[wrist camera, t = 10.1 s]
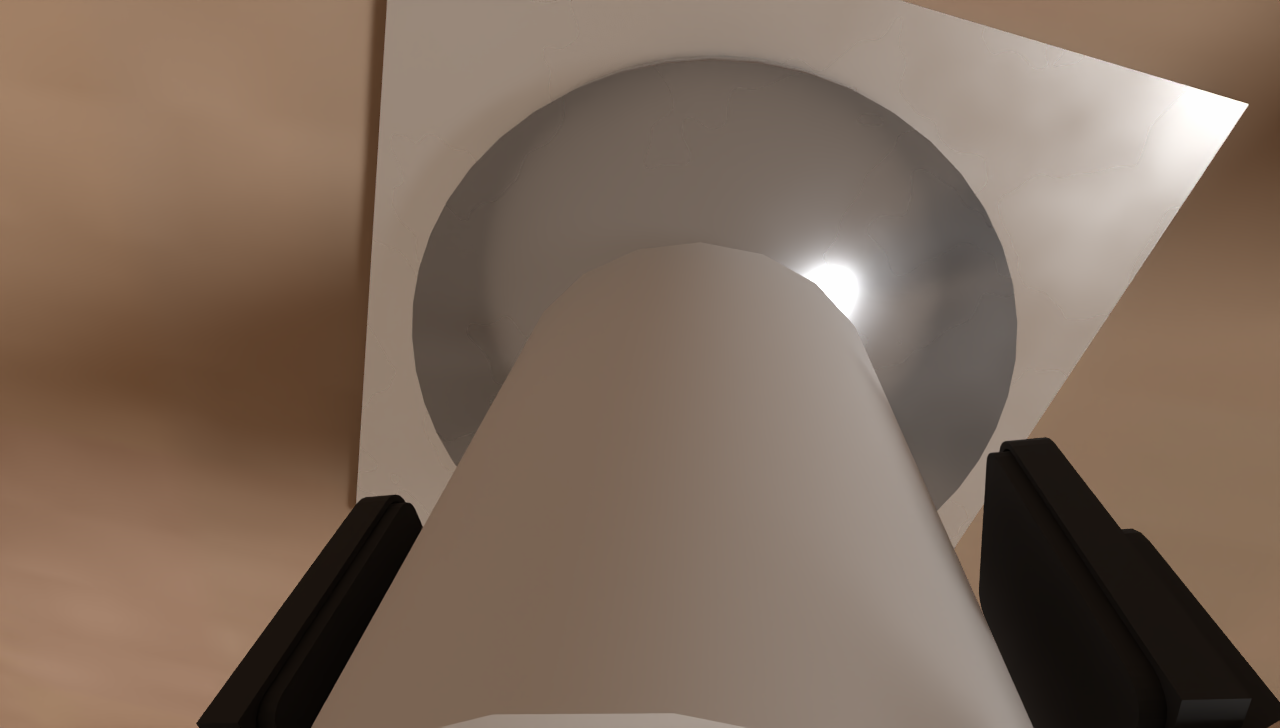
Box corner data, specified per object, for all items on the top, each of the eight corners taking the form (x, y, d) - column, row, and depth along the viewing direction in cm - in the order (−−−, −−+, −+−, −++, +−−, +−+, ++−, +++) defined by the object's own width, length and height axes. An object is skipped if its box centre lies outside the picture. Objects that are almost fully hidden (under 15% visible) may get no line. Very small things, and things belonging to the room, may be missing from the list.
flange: (878, 646, 20) (890, 694, 19) (361, 508, 20) (334, 547, 18) (1234, 101, 13) (1298, 113, 11) (405, -145, 12) (364, -165, 11)
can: (943, 373, 14) (1628, 1459, 4) (715, 569, 17) (718, 1448, 7) (660, 148, 13) (377, 901, 2) (467, 410, 16) (-35, 1233, 5)
